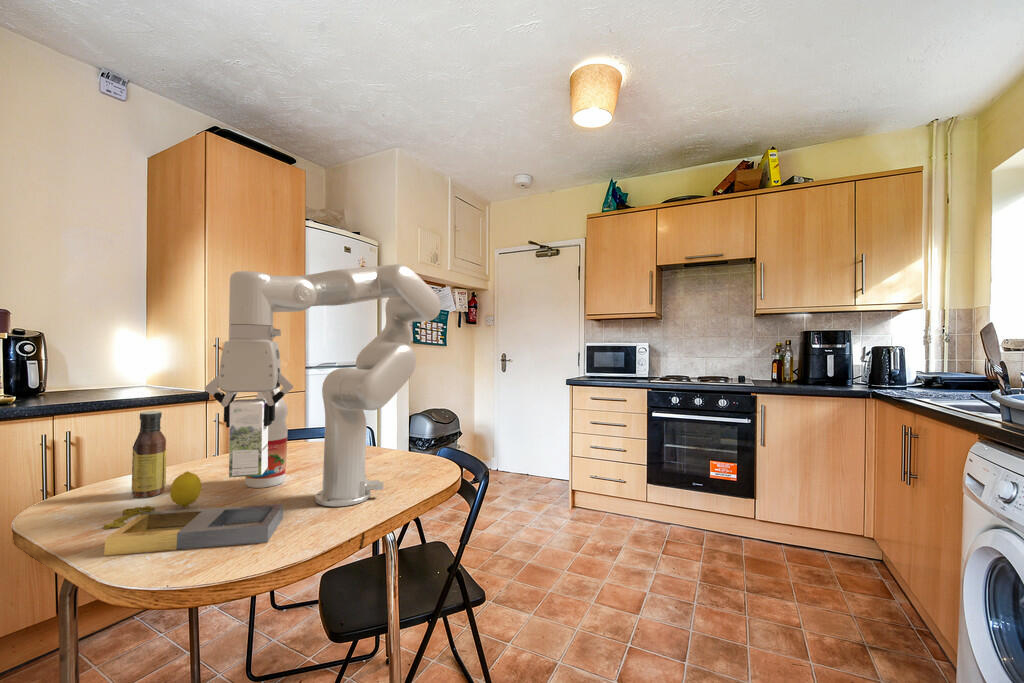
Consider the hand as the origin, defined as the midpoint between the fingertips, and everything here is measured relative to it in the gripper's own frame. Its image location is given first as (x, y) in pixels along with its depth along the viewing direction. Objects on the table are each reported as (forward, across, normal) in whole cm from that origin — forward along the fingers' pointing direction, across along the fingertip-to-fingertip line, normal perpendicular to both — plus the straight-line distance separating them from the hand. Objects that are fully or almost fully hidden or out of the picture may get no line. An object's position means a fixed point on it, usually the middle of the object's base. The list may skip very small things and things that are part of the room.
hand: (249, 424), depth 85 cm
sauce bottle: (+21, +29, -27) cm, 45 cm away
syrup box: (+10, 0, 0) cm, 10 cm away
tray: (+21, +7, +1) cm, 22 cm away
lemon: (+21, +17, -16) cm, 31 cm away
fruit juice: (+22, +5, -32) cm, 39 cm away
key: (+21, +26, -12) cm, 35 cm away
